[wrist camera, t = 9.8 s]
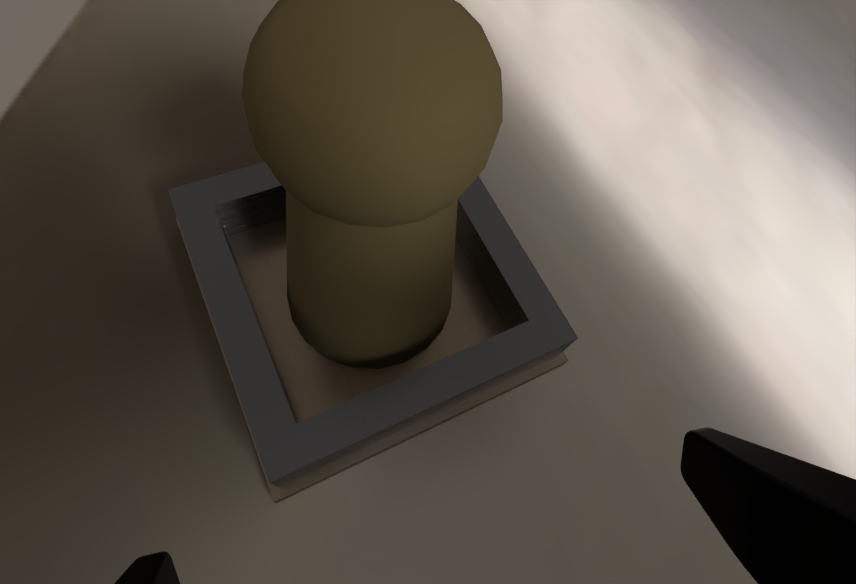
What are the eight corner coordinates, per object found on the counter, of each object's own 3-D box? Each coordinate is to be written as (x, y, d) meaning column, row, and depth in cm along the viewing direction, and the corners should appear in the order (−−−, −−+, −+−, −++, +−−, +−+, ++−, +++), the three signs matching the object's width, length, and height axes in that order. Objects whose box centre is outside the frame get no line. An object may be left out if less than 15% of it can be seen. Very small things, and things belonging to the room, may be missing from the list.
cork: (402, 401, 17) (452, 232, 7) (252, 316, 18) (114, 56, 8) (478, 266, 20) (592, 5, 10) (344, 195, 21) (326, -116, 11)
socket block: (562, 365, 19) (590, 342, 17) (276, 502, 16) (261, 498, 14) (433, 146, 23) (441, 103, 20) (180, 226, 20) (155, 185, 17)
